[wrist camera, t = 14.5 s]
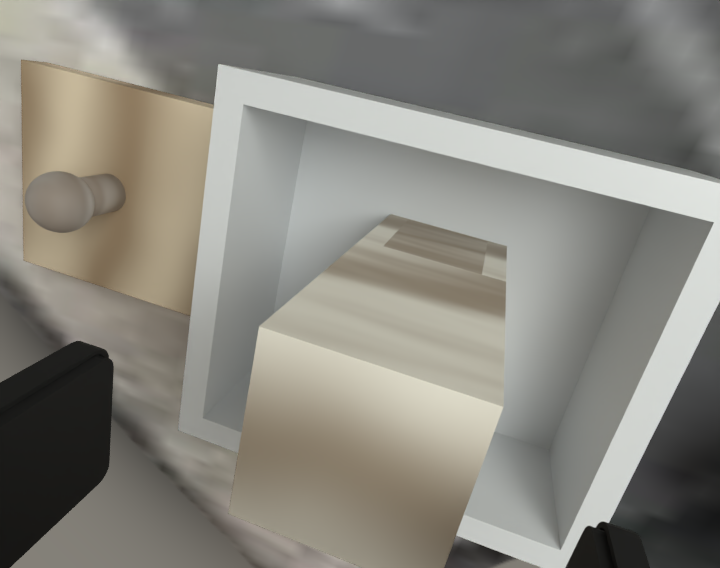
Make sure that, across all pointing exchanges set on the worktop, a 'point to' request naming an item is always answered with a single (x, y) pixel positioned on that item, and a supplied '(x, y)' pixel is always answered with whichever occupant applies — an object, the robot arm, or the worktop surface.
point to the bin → (523, 279)
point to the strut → (377, 398)
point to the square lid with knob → (113, 182)
